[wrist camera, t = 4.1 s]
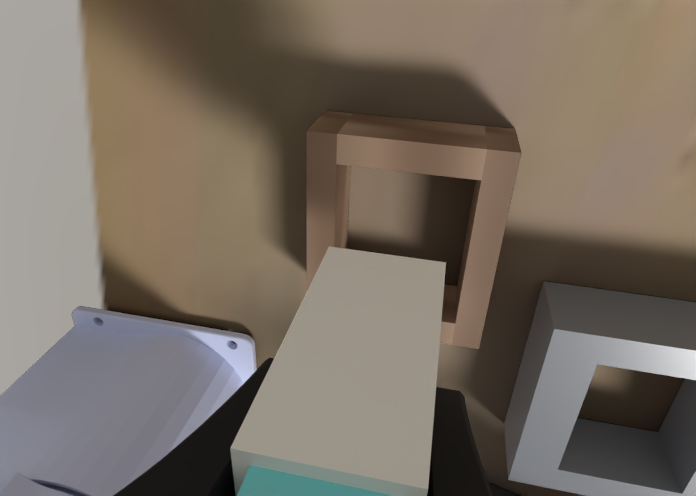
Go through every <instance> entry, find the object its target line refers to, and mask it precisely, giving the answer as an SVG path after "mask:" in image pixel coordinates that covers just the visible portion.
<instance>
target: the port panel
mask: <svg viewBox="0 0 696 496" xmlns="http://www.w3.org/2000/svg"><path fill="white" fill-rule="evenodd" d="M597 364H599V365H605V366H611V367H617V368H624V369H630V370H636V371H642V372H648V373H654V374H661V375H667V376H673V377H679V378H685V379H684V381H683V383H682V385H681V387H680V389H679V391H678V393H677V395H676V397H675V399H674V401H673V403H672V405H671V407H670V409H669V411H668V413H667V415H666V417H665V419H664V421H663V423H662V425H661V427H660V429H659V431H658V432H654V431H648V430H642V429H637V428H631V427H626V426H620V425H614V424H609V423H603V422H598V421H592V420H586V419H581V418H577V417H578V414H579V412H580V409H581V406H582V404H583V401H584V398H585V396H586V393H587V390H588V388H589V385H590V382H591V380H592V377H593V374H594V372H595V369H596V366H597ZM504 430H505V444H506V458H507V472H508V480H511V481H516V482H521V483H526V484H531V485H536V486H540V487H545V488H550V489H555V490H560V491H565V492H570V493H575V494H580V495H585V496H696V302H689V301H682V300H675V299H668V298H661V297H654V296H646V295H639V294H632V293H625V292H618V291H611V290H603V289H596V288H589V287H582V286H575V285H568V284H560V283H553V282H546V281H543V285H542V288H541V292H540V296H539V299H538V303H537V306H536V310H535V314H534V317H533V321H532V325H531V328H530V332H529V335H528V339H527V343H526V346H525V350H524V354H523V357H522V361H521V364H520V368H519V372H518V375H517V379H516V383H515V386H514V390H513V394H512V397H511V401H510V404H509V408H508V412H507V415H506V419H505V423H504Z"/></svg>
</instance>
